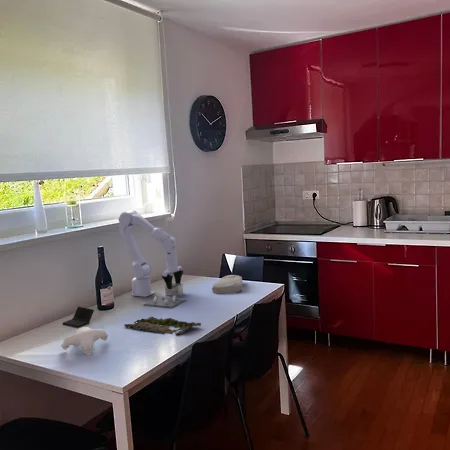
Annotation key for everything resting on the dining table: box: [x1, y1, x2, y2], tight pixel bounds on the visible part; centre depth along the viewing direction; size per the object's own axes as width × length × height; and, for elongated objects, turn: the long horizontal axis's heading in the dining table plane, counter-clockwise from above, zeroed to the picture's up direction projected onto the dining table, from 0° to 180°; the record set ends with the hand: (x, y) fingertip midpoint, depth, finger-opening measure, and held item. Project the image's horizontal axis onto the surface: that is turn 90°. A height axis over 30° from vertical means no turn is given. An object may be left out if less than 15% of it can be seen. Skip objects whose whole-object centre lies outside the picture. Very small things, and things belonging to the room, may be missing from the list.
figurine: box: [60, 326, 109, 356], centre depth 174 cm, size 17×9×18 cm
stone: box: [211, 274, 243, 295], centre depth 245 cm, size 21×15×5 cm
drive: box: [164, 282, 184, 297], centre depth 239 cm, size 8×4×6 cm, turn 62°
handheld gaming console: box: [62, 306, 95, 329], centre depth 205 cm, size 12×7×10 cm
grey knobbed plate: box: [143, 294, 187, 309], centre depth 225 cm, size 16×12×3 cm
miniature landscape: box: [123, 316, 202, 336], centre depth 191 cm, size 32×12×3 cm, turn 61°
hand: (173, 286), depth 239 cm, fingers open, 7 cm apart
